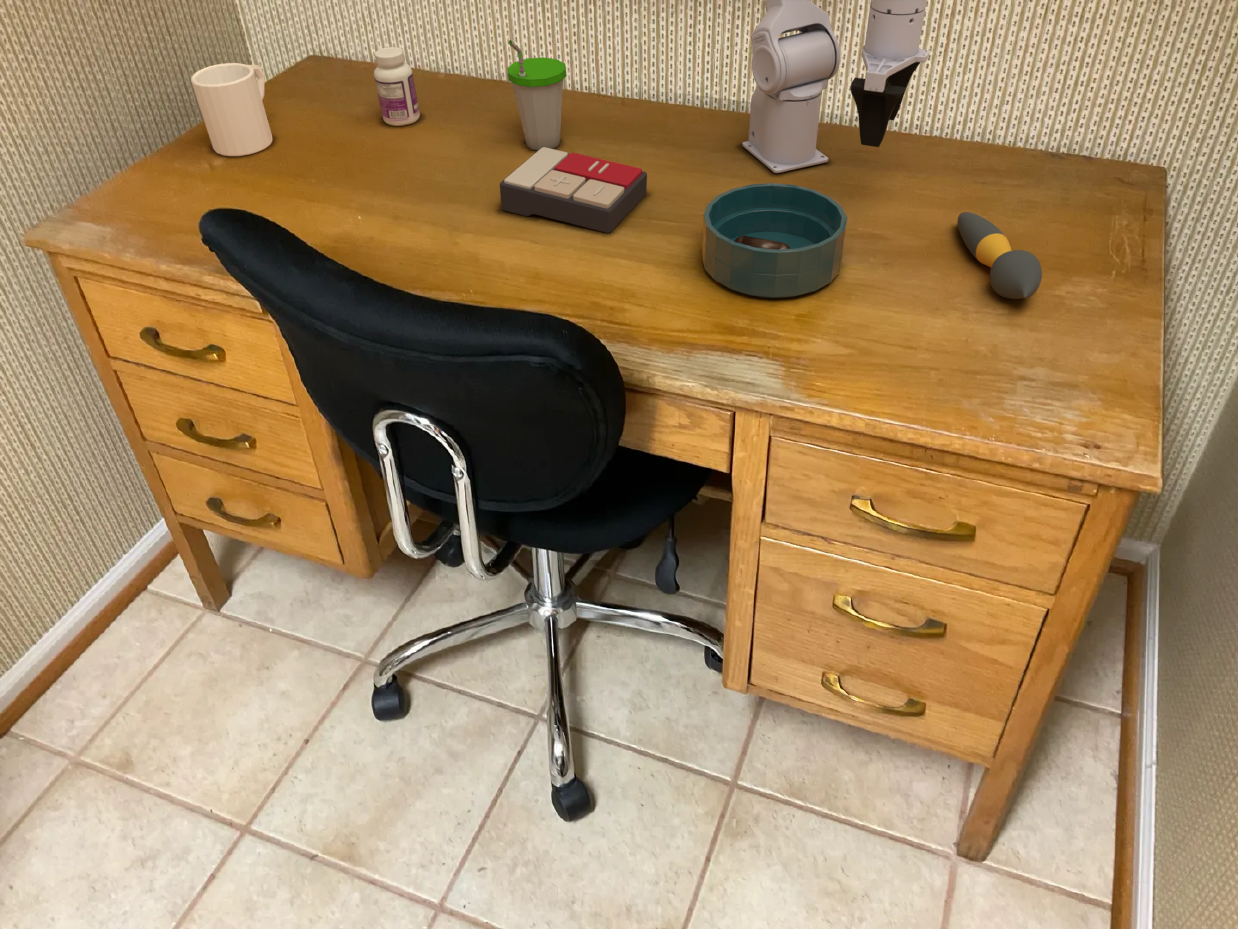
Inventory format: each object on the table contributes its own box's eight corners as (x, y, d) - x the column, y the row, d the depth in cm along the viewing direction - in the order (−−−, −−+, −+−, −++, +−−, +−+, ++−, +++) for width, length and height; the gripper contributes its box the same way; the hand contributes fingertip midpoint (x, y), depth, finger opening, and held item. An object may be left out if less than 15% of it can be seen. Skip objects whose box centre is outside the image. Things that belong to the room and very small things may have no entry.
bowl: (680, 247, 112) (681, 199, 108) (796, 220, 116) (801, 172, 112) (741, 315, 101) (744, 264, 97) (866, 282, 105) (874, 232, 101)
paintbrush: (929, 228, 113) (937, 188, 110) (969, 223, 114) (978, 184, 111) (1008, 322, 99) (1020, 280, 96) (1053, 316, 100) (1067, 274, 96)
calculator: (610, 205, 112) (497, 177, 117) (609, 238, 115) (499, 209, 120) (648, 166, 119) (541, 140, 124) (647, 198, 122) (542, 172, 127)
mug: (299, 124, 141) (281, 55, 134) (250, 159, 133) (229, 87, 126) (252, 118, 143) (232, 50, 136) (201, 152, 135) (178, 81, 128)
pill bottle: (402, 108, 144) (389, 41, 138) (427, 116, 142) (416, 48, 135) (375, 121, 141) (361, 53, 134) (401, 129, 139) (388, 61, 132)
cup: (562, 128, 137) (554, 17, 127) (578, 150, 132) (571, 36, 122) (509, 137, 136) (496, 25, 125) (522, 160, 130) (510, 45, 120)
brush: (729, 258, 109) (730, 240, 107) (737, 246, 111) (738, 228, 109) (810, 274, 106) (812, 256, 104) (817, 261, 108) (819, 243, 106)
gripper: (922, 33, 96) (900, 162, 105) (948, -11, 106) (926, 111, 115) (852, 25, 98) (836, 152, 108) (884, -17, 108) (866, 103, 117)
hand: (878, 131), depth 112 cm, fingers open, 7 cm apart
